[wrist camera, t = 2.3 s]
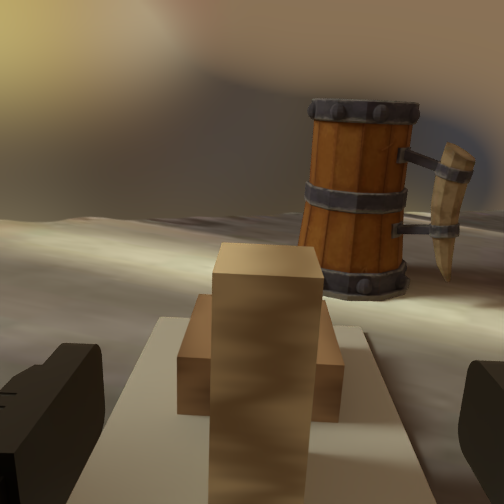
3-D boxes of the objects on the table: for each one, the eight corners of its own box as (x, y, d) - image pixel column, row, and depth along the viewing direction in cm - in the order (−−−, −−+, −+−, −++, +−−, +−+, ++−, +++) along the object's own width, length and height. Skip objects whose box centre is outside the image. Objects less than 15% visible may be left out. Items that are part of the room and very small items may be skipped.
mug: (471, 289, 55) (505, 106, 49) (423, 329, 44) (460, 102, 39) (326, 252, 67) (339, 101, 61) (260, 276, 56) (269, 96, 50)
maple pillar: (207, 510, 23) (212, 272, 19) (216, 446, 27) (221, 242, 24) (302, 516, 23) (324, 278, 19) (296, 451, 27) (313, 246, 24)
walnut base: (177, 414, 30) (176, 356, 29) (198, 339, 40) (198, 294, 38) (338, 422, 30) (344, 365, 29) (320, 345, 39) (325, 300, 38)
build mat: (42, 562, 21) (41, 553, 20) (160, 321, 44) (159, 316, 43) (466, 587, 20) (468, 578, 20) (360, 331, 43) (360, 326, 43)
